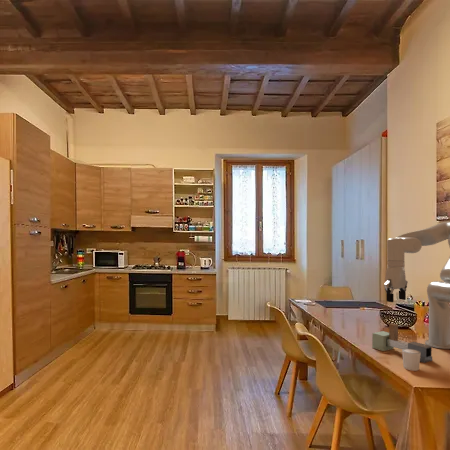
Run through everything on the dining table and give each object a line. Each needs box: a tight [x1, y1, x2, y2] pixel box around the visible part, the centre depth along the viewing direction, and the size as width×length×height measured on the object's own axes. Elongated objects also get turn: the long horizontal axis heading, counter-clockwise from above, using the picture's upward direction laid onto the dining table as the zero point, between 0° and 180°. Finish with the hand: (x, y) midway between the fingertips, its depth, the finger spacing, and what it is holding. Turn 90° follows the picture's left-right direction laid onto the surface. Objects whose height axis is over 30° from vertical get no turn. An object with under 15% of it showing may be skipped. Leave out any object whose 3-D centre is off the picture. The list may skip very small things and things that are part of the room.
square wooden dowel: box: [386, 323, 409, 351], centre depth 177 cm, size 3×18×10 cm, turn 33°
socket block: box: [371, 330, 395, 352], centre depth 184 cm, size 8×6×7 cm
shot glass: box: [401, 349, 421, 372], centre depth 157 cm, size 7×7×7 cm
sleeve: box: [408, 341, 433, 364], centre depth 169 cm, size 6×8×6 cm
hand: (396, 300), depth 182 cm, fingers open, 9 cm apart
